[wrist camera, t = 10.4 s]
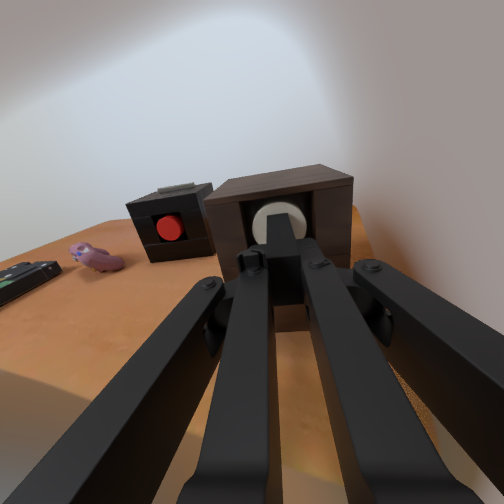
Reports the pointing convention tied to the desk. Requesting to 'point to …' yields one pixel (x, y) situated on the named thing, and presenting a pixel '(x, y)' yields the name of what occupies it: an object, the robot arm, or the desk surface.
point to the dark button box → (193, 216)
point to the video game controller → (95, 257)
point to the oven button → (170, 226)
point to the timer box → (312, 206)
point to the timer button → (277, 207)
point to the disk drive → (25, 278)
